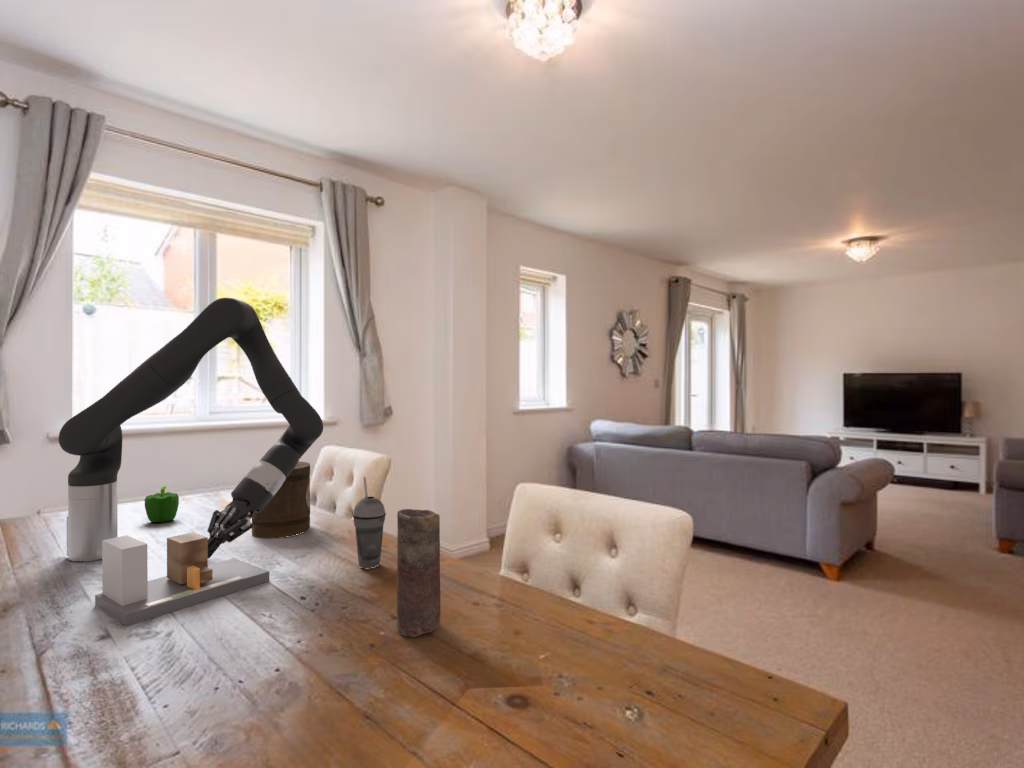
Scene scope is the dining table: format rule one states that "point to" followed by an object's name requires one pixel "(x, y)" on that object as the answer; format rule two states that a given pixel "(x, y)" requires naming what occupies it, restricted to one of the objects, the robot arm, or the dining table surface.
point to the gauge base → (160, 583)
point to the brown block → (187, 557)
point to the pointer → (193, 577)
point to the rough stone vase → (418, 572)
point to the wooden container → (286, 507)
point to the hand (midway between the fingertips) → (203, 556)
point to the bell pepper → (161, 506)
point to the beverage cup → (369, 529)
